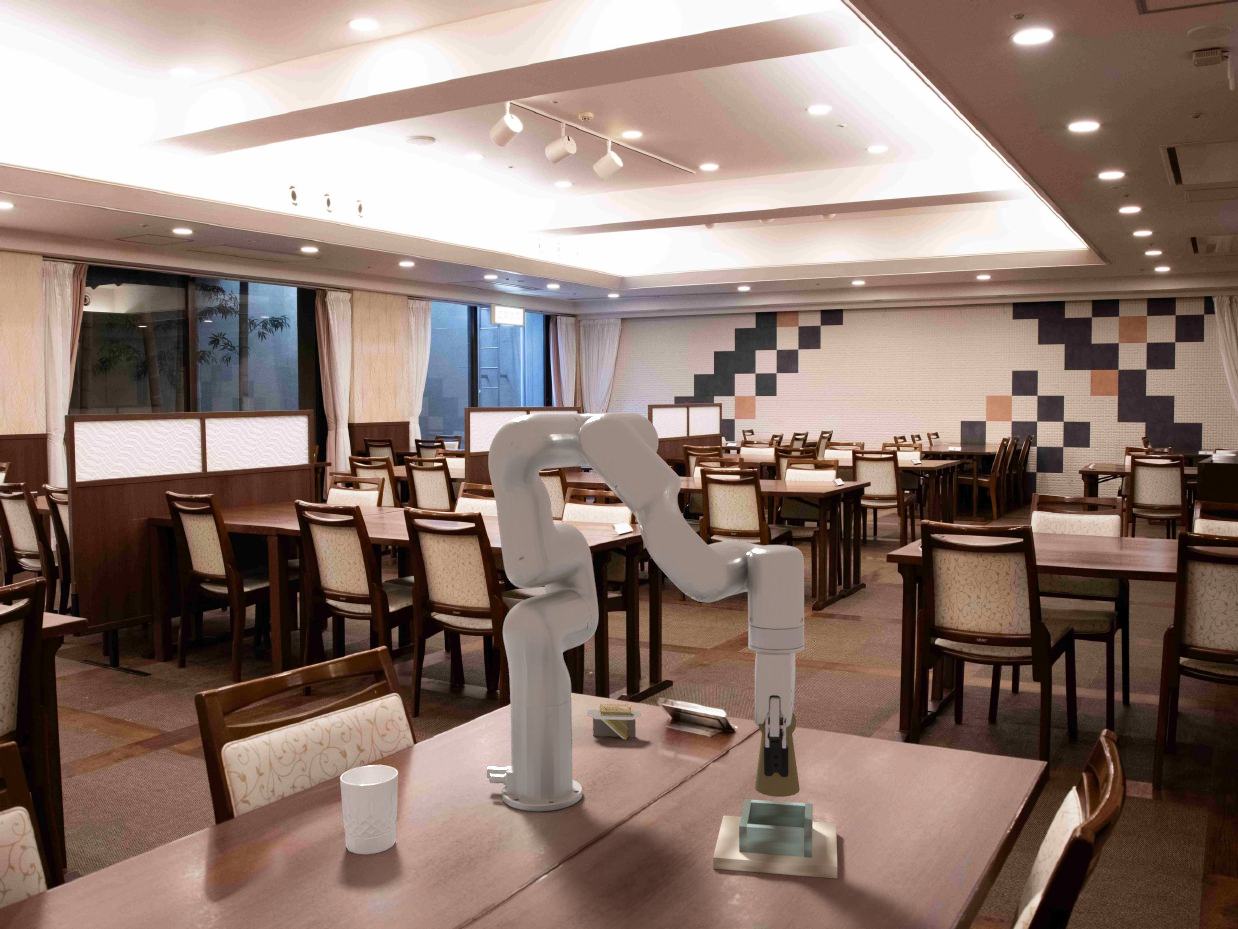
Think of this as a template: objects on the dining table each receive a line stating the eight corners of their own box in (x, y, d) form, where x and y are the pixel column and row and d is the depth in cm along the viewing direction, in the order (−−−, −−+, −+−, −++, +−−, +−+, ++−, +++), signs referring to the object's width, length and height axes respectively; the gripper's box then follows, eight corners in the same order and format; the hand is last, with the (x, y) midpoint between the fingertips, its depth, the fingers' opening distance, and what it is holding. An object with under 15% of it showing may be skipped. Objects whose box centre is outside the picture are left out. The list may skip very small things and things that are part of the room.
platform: (660, 752, 179) (660, 716, 179) (560, 750, 181) (560, 714, 181) (664, 731, 191) (664, 697, 191) (570, 729, 193) (570, 695, 193)
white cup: (341, 860, 136) (340, 787, 136) (341, 836, 144) (340, 768, 143) (401, 853, 138) (399, 781, 138) (398, 830, 146) (396, 762, 145)
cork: (799, 798, 134) (798, 716, 133) (753, 795, 135) (753, 714, 134) (800, 781, 140) (799, 703, 139) (756, 779, 141) (755, 701, 140)
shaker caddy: (713, 868, 132) (712, 831, 132) (723, 825, 146) (723, 791, 146) (837, 878, 129) (837, 840, 129) (836, 833, 143) (836, 799, 143)
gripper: (752, 623, 145) (753, 748, 146) (743, 650, 129) (744, 791, 130) (805, 625, 143) (806, 751, 144) (803, 652, 127) (803, 794, 128)
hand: (777, 768), depth 137 cm, fingers closed on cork, 3 cm apart
